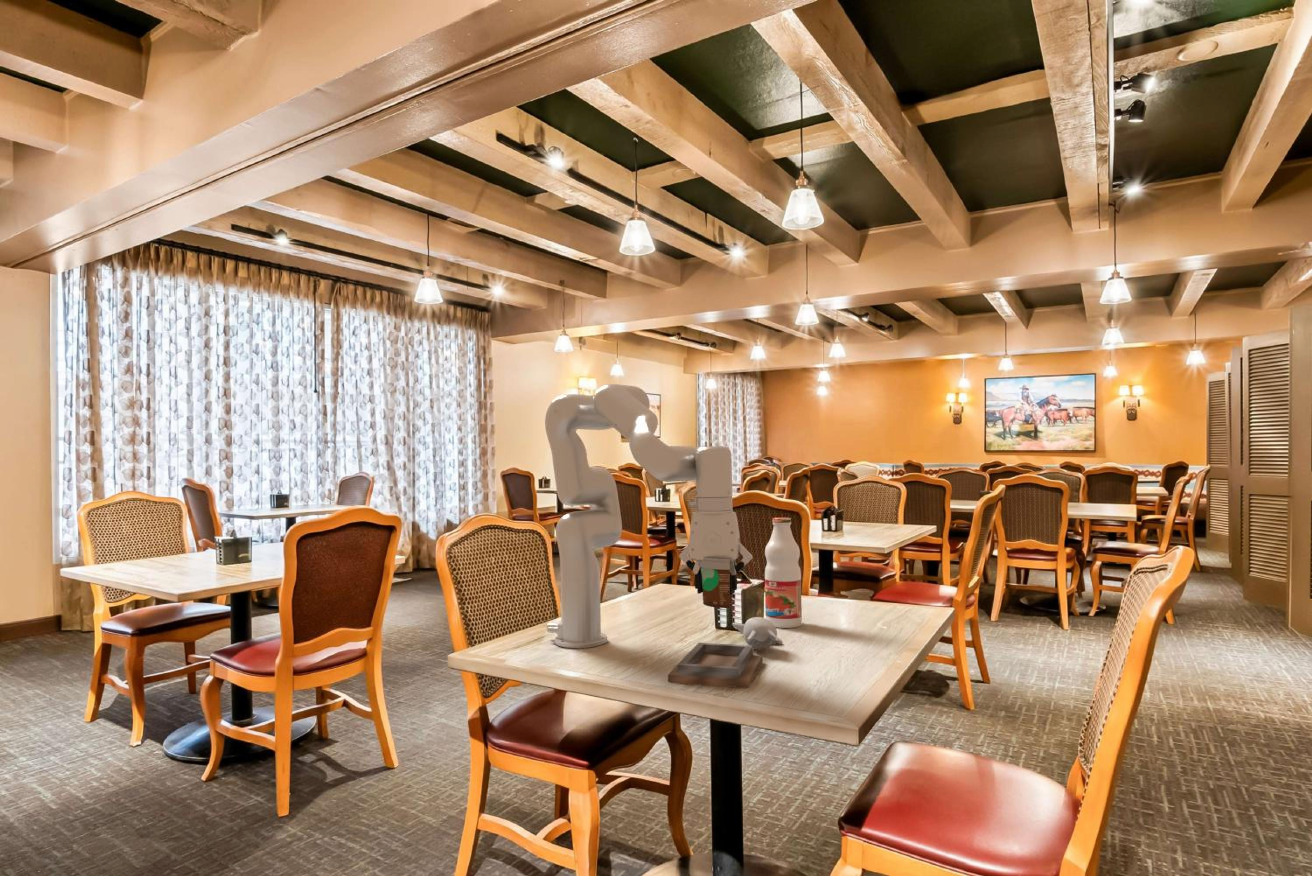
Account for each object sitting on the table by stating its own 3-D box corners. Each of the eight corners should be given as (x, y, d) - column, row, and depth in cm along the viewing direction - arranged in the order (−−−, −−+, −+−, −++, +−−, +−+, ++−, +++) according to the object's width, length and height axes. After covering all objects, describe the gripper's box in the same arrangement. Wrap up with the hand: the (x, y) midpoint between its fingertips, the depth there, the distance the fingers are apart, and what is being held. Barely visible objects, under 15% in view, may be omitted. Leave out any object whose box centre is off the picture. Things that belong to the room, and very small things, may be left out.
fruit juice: (809, 624, 191) (807, 518, 192) (785, 630, 185) (783, 520, 186) (781, 619, 198) (779, 516, 199) (758, 624, 192) (756, 518, 193)
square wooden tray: (667, 682, 144) (667, 664, 144) (690, 657, 161) (690, 641, 161) (748, 688, 139) (748, 669, 139) (762, 662, 156) (762, 646, 157)
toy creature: (784, 624, 179) (796, 630, 159) (775, 653, 177) (786, 663, 158) (735, 606, 180) (741, 610, 160) (725, 635, 179) (730, 643, 159)
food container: (695, 597, 157) (695, 551, 157) (724, 597, 157) (723, 551, 157) (699, 610, 145) (699, 559, 145) (730, 609, 145) (729, 559, 145)
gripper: (669, 506, 150) (671, 594, 149) (752, 507, 145) (754, 598, 144) (679, 504, 157) (680, 588, 157) (758, 504, 152) (760, 591, 152)
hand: (716, 592), depth 151 cm, fingers closed on food container, 5 cm apart
